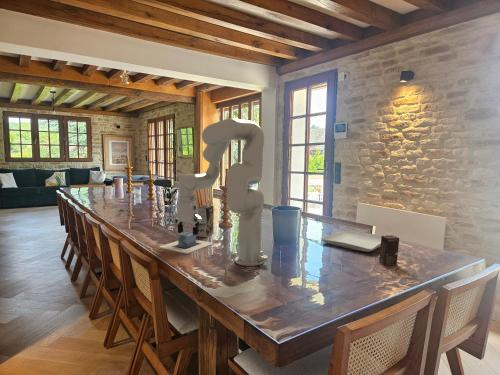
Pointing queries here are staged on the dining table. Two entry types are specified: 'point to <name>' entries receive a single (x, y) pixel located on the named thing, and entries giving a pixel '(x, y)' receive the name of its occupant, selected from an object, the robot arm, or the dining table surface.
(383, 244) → the box
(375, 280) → the dining table surface
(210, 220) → the coffee box
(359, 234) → the square plate
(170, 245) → the card
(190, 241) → the blue cube
